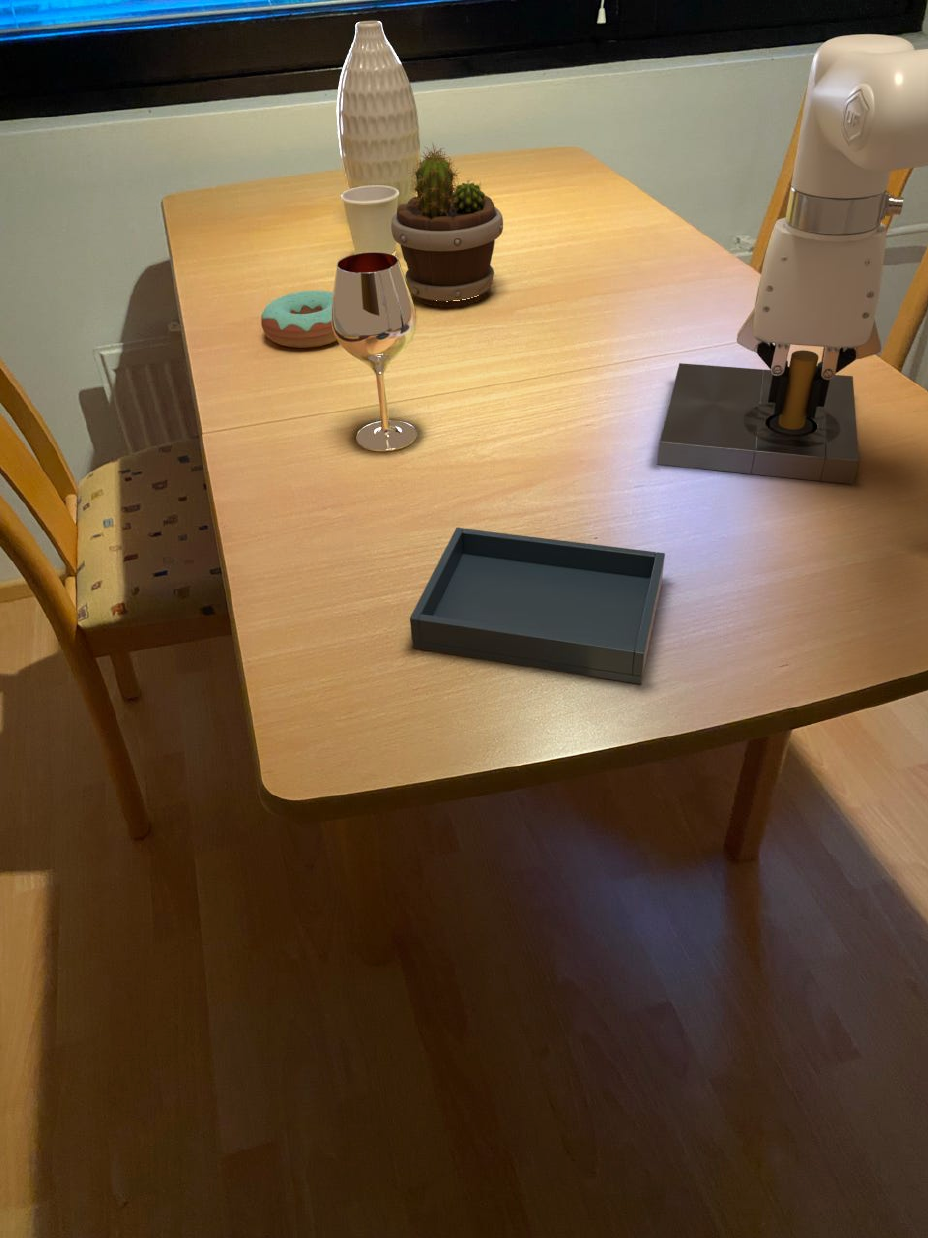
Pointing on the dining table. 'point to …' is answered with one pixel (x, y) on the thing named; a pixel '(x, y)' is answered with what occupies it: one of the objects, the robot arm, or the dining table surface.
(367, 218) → the dixie cup
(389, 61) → the vase
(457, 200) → the flowerpot
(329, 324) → the donut
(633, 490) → the dining table surface
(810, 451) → the drain plate
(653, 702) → the dining table surface
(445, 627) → the basin tray
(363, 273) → the wineglass
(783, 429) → the plug
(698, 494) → the dining table surface
